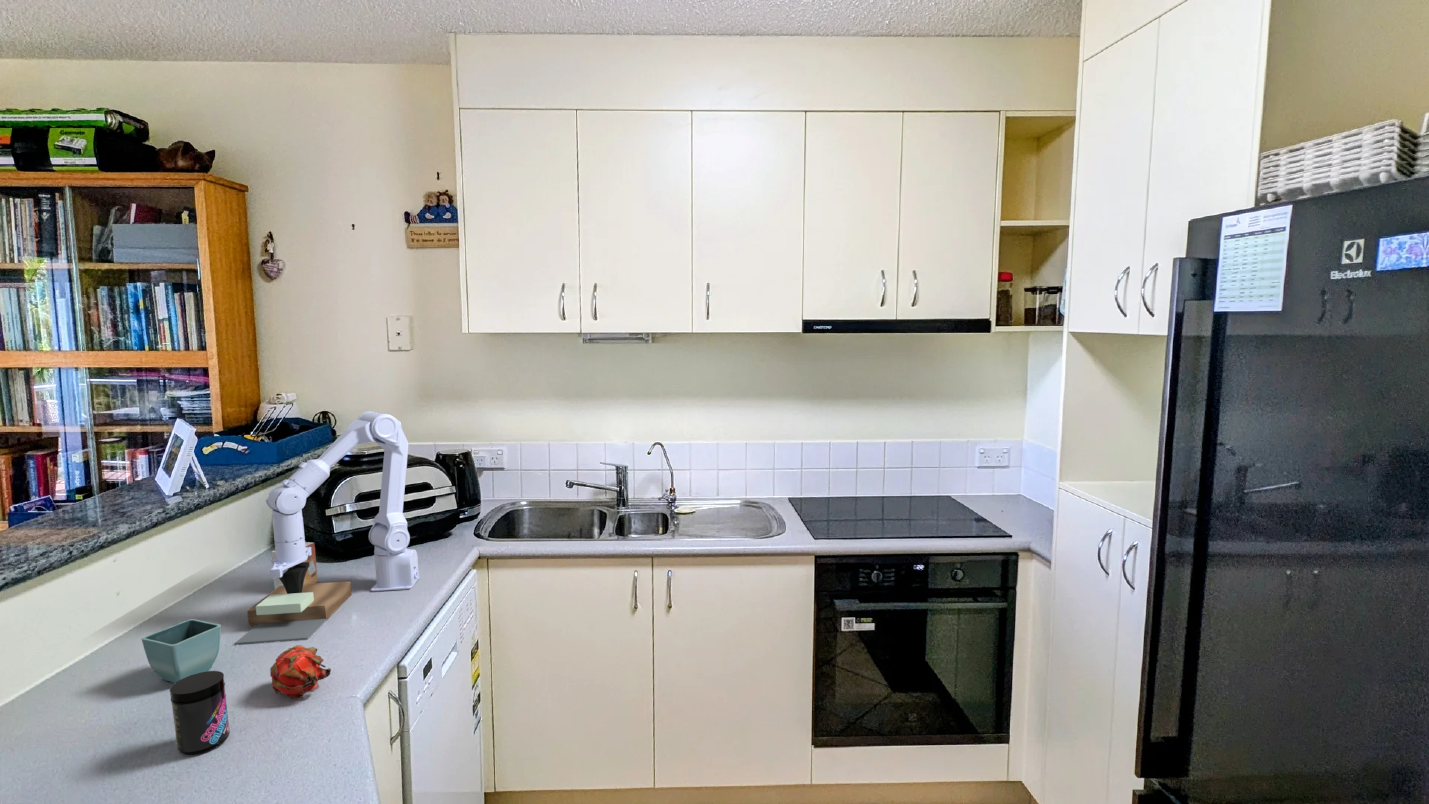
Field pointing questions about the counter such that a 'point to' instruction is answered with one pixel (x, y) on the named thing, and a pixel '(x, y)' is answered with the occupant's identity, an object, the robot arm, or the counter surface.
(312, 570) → the small box
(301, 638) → the mat
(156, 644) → the flower pot
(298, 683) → the dragon fruit
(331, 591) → the brown flat block
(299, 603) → the sage green block
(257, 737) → the counter surface
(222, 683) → the supplement container
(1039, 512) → the counter surface
